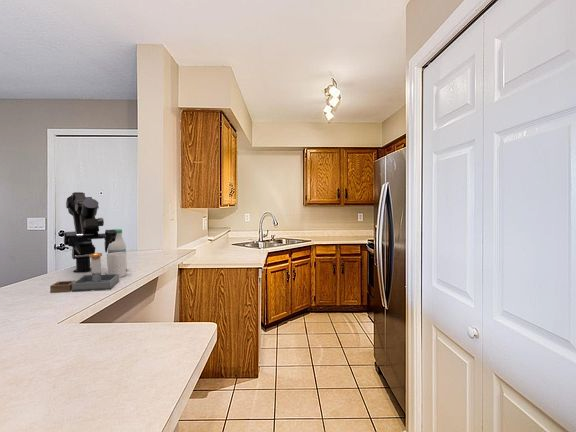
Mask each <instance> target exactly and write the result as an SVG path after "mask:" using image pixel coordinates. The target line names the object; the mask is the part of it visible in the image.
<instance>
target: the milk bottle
mask: <svg viewBox="0 0 576 432" xmlns="http://www.w3.org/2000/svg"><path fill="white" fill-rule="evenodd" d="M113 229H114V228H113ZM113 229H111V230H113ZM114 230H116V233H117V235H116V239H115V241H114V242H112V243H110V244H109V246H108V249H107V254H109V253H116V252H124V253H126V254H127V247H126V246H127V245H126V242H125V240H124V238H123V236H122V235H123V229H122V228H115V229H114ZM127 269H128V268H127V264H126V271H127Z"/></svg>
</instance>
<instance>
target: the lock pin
mask: <svg viewBox="0 0 576 432" xmlns="http://www.w3.org/2000/svg"><path fill="white" fill-rule="evenodd" d="M89 257H90V267H91V268H92V270H91V275H92V282H101V275H102V262H101V261H102V260H101V258H102V257H103V252H95V253H93V254H89Z"/></svg>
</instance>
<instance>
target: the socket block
mask: <svg viewBox="0 0 576 432" xmlns="http://www.w3.org/2000/svg"><path fill="white" fill-rule="evenodd" d="M75 281H76V280H66V281H63V280H62V281H60V280H59V281H58V280H57V281H56V282H54V283H53V284H51V285H50V286H49V288H50V289H49V293H50V294H52V293H69V292H72V283H74V282H75Z"/></svg>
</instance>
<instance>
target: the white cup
mask: <svg viewBox="0 0 576 432" xmlns="http://www.w3.org/2000/svg"><path fill="white" fill-rule="evenodd" d="M106 265H107V272H108V274H119V278H122V277H125V276H126V274H127V273H126V271H127V270H126V265H127V252H126V253H124V252H116V253H109V254H108V253H106Z"/></svg>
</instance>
